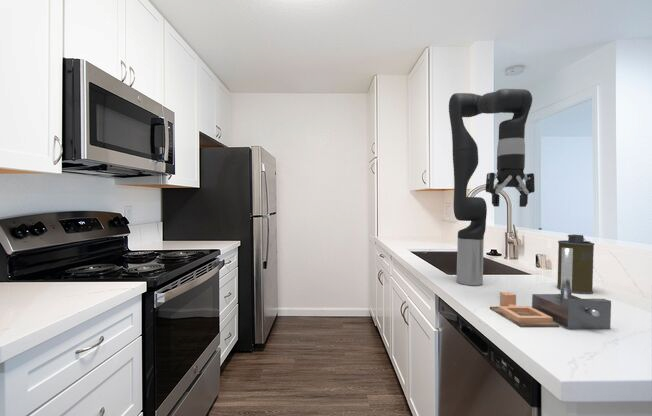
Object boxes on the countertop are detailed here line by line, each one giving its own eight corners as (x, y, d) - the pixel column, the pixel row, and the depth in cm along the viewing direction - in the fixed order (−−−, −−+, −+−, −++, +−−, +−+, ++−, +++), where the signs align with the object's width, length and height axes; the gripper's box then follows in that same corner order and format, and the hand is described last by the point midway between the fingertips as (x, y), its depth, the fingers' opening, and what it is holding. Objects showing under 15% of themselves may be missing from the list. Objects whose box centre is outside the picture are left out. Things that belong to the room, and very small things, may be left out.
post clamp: (531, 311, 93) (533, 245, 93) (568, 311, 93) (570, 245, 93) (574, 332, 78) (576, 254, 78) (617, 332, 79) (620, 254, 78)
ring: (489, 305, 96) (490, 291, 96) (519, 305, 96) (519, 292, 96) (518, 322, 83) (518, 306, 82) (552, 322, 83) (553, 306, 83)
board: (489, 308, 95) (489, 306, 95) (522, 308, 95) (522, 306, 95) (520, 327, 81) (520, 324, 81) (559, 326, 81) (559, 324, 81)
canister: (578, 295, 111) (579, 236, 110) (549, 287, 121) (551, 233, 120) (601, 293, 113) (603, 236, 113) (571, 285, 123) (573, 233, 123)
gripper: (525, 156, 104) (523, 206, 105) (482, 155, 104) (480, 206, 104) (541, 153, 97) (540, 207, 97) (495, 152, 96) (493, 206, 97)
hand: (509, 206), depth 101 cm, fingers open, 8 cm apart
